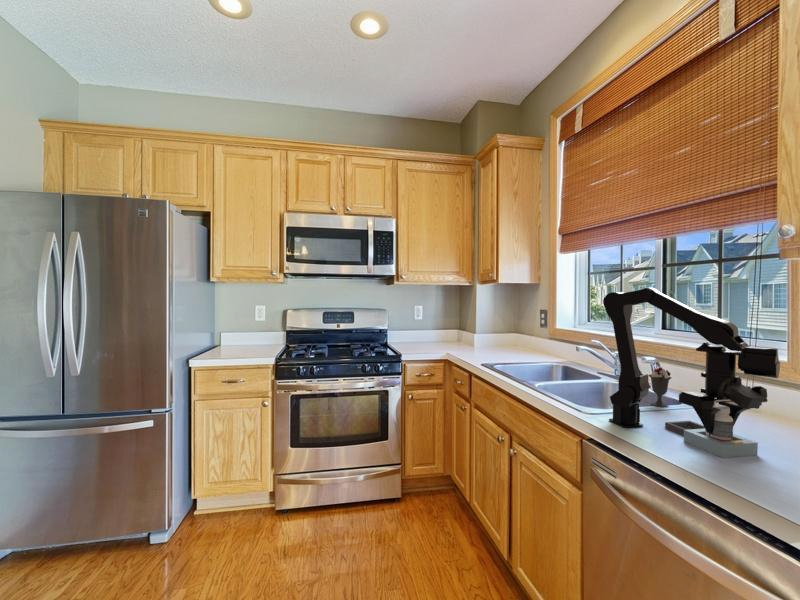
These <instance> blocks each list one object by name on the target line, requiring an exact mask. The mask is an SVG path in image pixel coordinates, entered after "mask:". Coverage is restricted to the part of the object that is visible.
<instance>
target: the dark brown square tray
mask: <svg viewBox="0 0 800 600" xmlns="http://www.w3.org/2000/svg"><path fill="white" fill-rule="evenodd" d="M664 425H665V426H664V429H666V430H670V431H672V432H675V433H677V434H679V435H682V436H684V430H688V428H691V429H704V428H705V427H704V425H703V424H699V423H698V422H695V421H691V420H681V421H665V422H664Z"/></svg>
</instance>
